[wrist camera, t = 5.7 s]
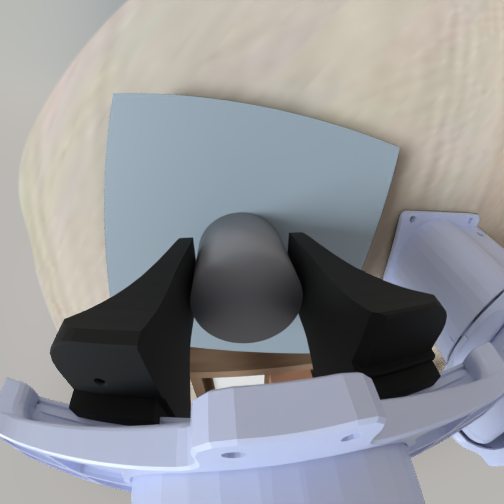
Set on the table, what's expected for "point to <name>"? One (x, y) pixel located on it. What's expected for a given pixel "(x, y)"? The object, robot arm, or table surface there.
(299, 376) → the terracotta block
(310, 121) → the lid
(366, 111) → the table surface
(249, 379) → the off-white block
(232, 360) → the storage box
